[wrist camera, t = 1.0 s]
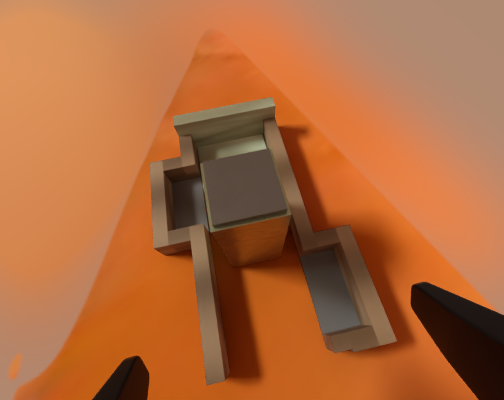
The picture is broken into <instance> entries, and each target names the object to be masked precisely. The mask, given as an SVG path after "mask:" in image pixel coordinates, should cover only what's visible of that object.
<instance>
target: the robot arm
mask: <svg viewBox="0 0 504 400" xmlns="http://www.w3.org/2000/svg"><path fill="white" fill-rule="evenodd" d="M411 307H412V309H413V311H414V312H415V314H416V315H417V317H418V318H419V320H420V321H421V323H422V324H423V326H424V327H425V329H426V330H427V332H428V333H429V335H430V336H431V338H432V339H433V341H434V342H435V344H436V345H437V347H438V348H439V349H440V351H441V352H442V354H443V355H444V357H445V358H446V359H447V361H448V362H449V363H450V364H451V366H452V367H453V368H454V369H455V371H456V372H457V373H458V374H459V376H460V377H461V378H462V379H463V381H464V382H465V383H466V384H467V386H468V387H469V388H470V389H471V391H472V392H473V393H474V394H475V396H476V397H477V398H478V399H479V400H504V315H502V314H500V313H497V312H495V311H493V310H490V309H488V308H486V307H483V306H481V305H479V304H476V303H474V302H472V301H469V300H467V299H465V298H463V297H460V296H458V295H456V294H453V293H451V292H449V291H446V290H444V289H442V288H439V287H437V286H435V285H432V284H430V283H427V282H421V283H417V284H414V285H412V288H411ZM148 387H149V372H148V370H147V368H146V366H145V365H144V363H143V361H142V360H141V358H140V357H139V356H133V357H129V358H126V359H124V360H123V361H122V363H121V364H120V365H119V366H118V368H117V369H116V370H115V371H114V373H113V374H112V375H111V376H110V378H109V379H108V380H107V381H106V383H105V384H104V385H103V387H102V388H101V389H100V390H99V392H98V393H97V394H96V395H95V397H94V398H93V399H92V400H147V397H148Z"/></svg>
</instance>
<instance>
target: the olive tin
mask: <svg viewBox="0 0 504 400" xmlns="http://www.w3.org/2000/svg"><path fill="white" fill-rule="evenodd" d="M200 166H201V173H202V179H203V186H204V193H205V199H206V206H207V213H208V220H209V226H210V233H211V234H212V236H213V237H214V239H215V240H216V242H217V243H218V245H219V246H220V248H221V249H222V251H223V253H224V254H225V256H226V257H227V259H228V260H229V262H230V263H231V265H232V266H233V268H234V267H238V266H243V265H247V264H251V263H256V262H260V261H265V260H269V259H273V258H278V257H281V253H282V249H283V245H284V242H285V238H286V234H287V230H288V227H289V223H290V219H291V215H292V214H291V211H290V207H289V204H288V201H287V198H286V194H285V191H284V188H283V185H282V181H281V178H280V175H279V172H278V168H277V165H276V162H275V159H274V155H273V152H272V149H269V148H268V149H263V150H258V151H253V152H248V153H244V154H239V155H234V156H229V157H224V158H219V159H214V160H210V161H205V162H203V163H201V164H200Z"/></svg>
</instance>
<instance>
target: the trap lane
mask: <svg viewBox="0 0 504 400" xmlns="http://www.w3.org/2000/svg"><path fill="white" fill-rule="evenodd" d="M173 121H174V127H175V129H176V131H177V133H178V135H179V141H180V150H181V157H177V158H172V159H167V160H162V161H157V162H152V163H150V177H151V200H152V222H153V245H154V249H155V250H157V251H159V252H160V253H162V254H164V255H169V254H173V253H178V252H182V251H187V250H191V249H192V258H193V267H194V276H195V285H196V294H197V303H198V312H199V320H200V329H201V338H202V347H203V356H204V365H205V374H206V383H207V385H210V384H214V383H218V382H222V381H225V380H226V379H227V377H228V375H229V374H230V369H229V362H228V356H227V349H226V342H225V335H224V329H223V322H222V315H221V308H220V301H219V295H218V288H217V281H216V274H215V267H214V261H213V254H212V247H211V240H210V234H209V227H208V220H207V213H206V206H205V200H204V193H203V189H204V186H202V182H203V179H201V176H202V173H201V172H200V169H201V166H199V162H200V164H201V163H203V162H205V161H210V160H214V159H219V158H224V157H229V156H234V155H239V154H244V153H248V152H253V151H258V150H263V149H268V148H269V149H272V152H273V155H274V159H275V162H276V165H277V168H278V172H279V175H280V178H281V181H282V185H283V188H284V191H285V194H286V198H287V201H288V204H289V207H290V211H291V214H292V215H291V219H290V223H289V224H290V227H291V231H292V234H293V237H294V241H295V244H296V247H297V251H298V254H299V257H300V261H301V264H302V267H303V271H304V274H305V277H306V281H307V284H308V287H309V291H310V294H311V298H312V301H313V304H314V308H315V311H316V314H317V318H318V321H319V324H320V328H321V331H322V334H323V338H324V341H325V344H326V348H327V349H328V350H330V351H332V352H334V353H338V352H342V351H346V350H350V351H352V352H357V351H361V350H365V349H369V348H373V347H377V346H381V345H385V344H389V343H393V342H397V340H396V337H395V335H394V332H393V330H392V327H391V325H390V323H389V320H388V318H387V315H386V313H385V310H384V308H383V305H382V303H381V301H380V298H379V296H378V293H377V291H376V288H375V286H374V283H373V281H372V279H371V276H370V274H369V271H368V269H367V266H366V264H365V261H364V259H363V257H362V254H361V252H360V249H359V247H358V244H357V242H356V239H355V237H354V235H353V232H352V230H351V227H350V225H345V226H341V227H336V228H332V229H327V230H323V231H318V232H313V229H312V226H311V223H310V221H309V218H308V215H307V212H306V209H305V206H304V203H303V200H302V197H301V194H300V191H299V188H298V185H297V182H296V179H295V176H294V173H293V170H292V167H291V164H290V161H289V158H288V155H287V152H286V149H285V146H284V144H283V141H282V138H281V135H280V132H279V129H278V126H277V123H276V120H275V104H274V101H273V98H272V97H270V98H265V99H260V100H254V101H249V102H244V103H239V104H234V105H229V106H224V107H219V108H214V109H208V110H203V111H198V112H193V113H188V114H183V115H178V116H173ZM263 137H264V138H263ZM264 140H265V141H264ZM265 143H266V145H265ZM266 147H267V148H266ZM197 149H198V152H197ZM198 155H199V159H198Z"/></svg>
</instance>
